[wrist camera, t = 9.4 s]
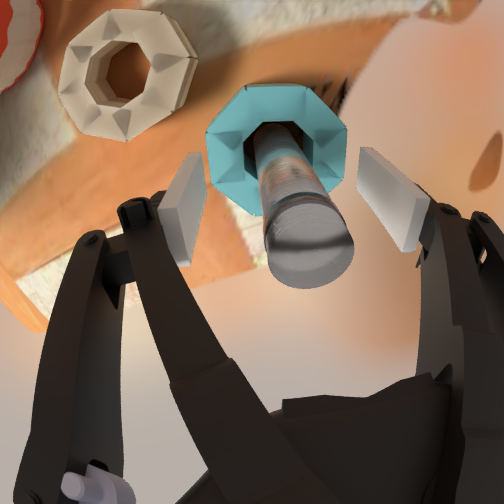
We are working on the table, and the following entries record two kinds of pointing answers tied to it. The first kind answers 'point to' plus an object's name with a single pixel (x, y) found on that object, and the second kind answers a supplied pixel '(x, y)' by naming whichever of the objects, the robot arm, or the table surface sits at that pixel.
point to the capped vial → (298, 214)
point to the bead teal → (272, 109)
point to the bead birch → (97, 64)
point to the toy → (18, 38)
